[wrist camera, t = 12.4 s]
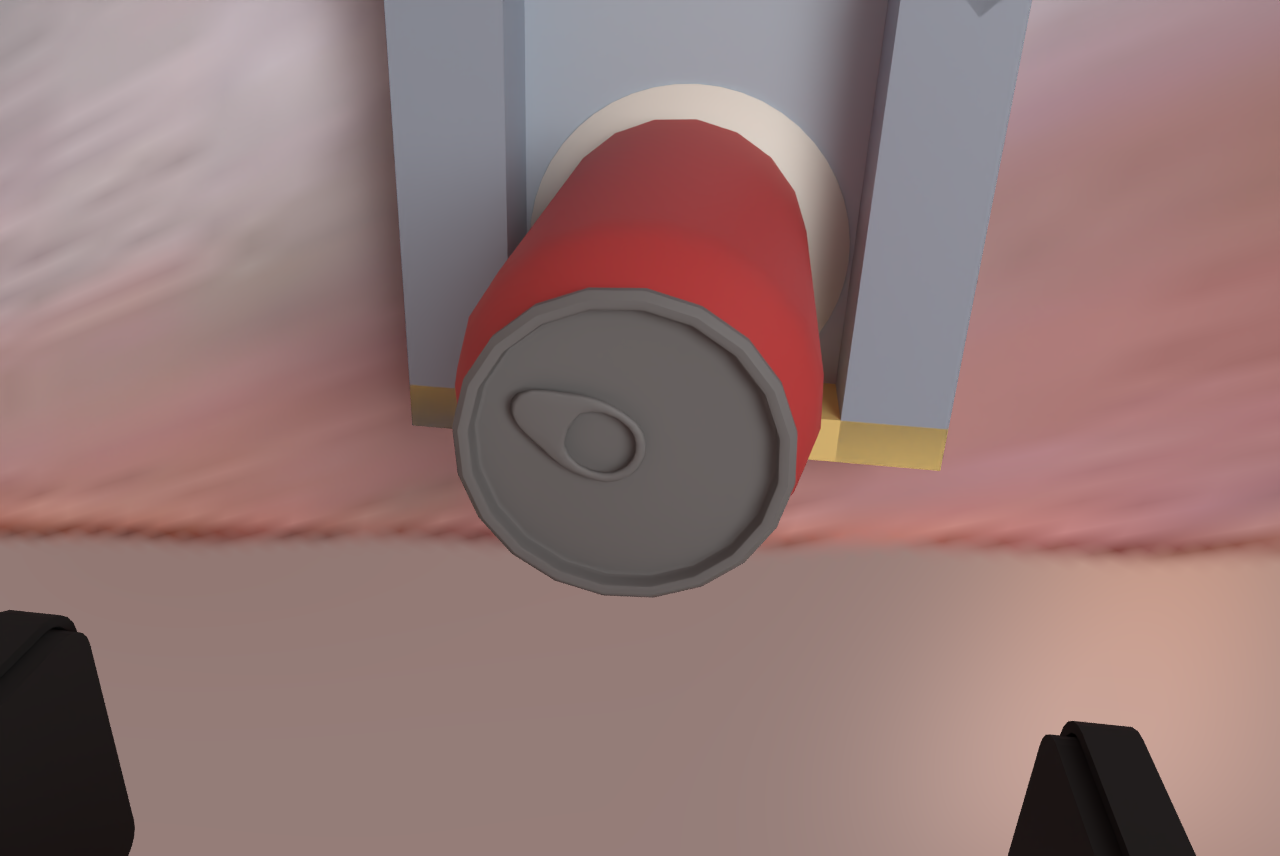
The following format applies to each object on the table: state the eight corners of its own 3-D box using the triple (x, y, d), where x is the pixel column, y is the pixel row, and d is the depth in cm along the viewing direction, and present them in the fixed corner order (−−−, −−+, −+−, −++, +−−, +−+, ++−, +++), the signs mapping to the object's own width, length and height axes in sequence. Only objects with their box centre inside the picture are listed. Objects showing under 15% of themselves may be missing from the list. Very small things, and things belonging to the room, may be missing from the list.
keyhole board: (425, 371, 31) (387, 423, 28) (374, -489, 22) (309, -554, 19) (946, 414, 30) (967, 472, 27) (1118, -479, 21) (1181, -547, 18)
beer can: (618, 65, 25) (510, 178, 15) (854, 187, 26) (914, 380, 15) (518, 293, 28) (366, 525, 18) (732, 397, 29) (711, 682, 18)
